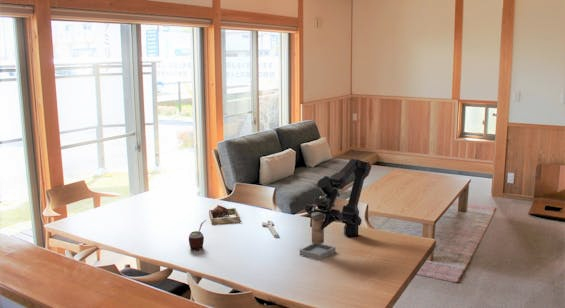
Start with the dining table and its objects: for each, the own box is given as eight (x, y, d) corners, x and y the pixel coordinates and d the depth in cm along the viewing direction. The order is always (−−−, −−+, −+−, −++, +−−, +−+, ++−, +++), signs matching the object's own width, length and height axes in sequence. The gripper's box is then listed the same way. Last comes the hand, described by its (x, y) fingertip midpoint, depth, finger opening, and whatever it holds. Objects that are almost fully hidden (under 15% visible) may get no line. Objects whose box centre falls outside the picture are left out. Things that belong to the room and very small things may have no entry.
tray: (314, 246, 255) (314, 242, 255) (335, 252, 248) (335, 247, 248) (299, 254, 245) (299, 249, 245) (320, 260, 238) (320, 255, 238)
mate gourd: (187, 247, 256) (186, 217, 253) (203, 245, 259) (202, 215, 256) (191, 252, 249) (190, 222, 247) (207, 250, 252) (206, 220, 250)
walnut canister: (317, 238, 250) (317, 211, 247) (326, 241, 246) (327, 213, 243) (308, 242, 246) (308, 214, 243) (318, 245, 242) (318, 216, 239)
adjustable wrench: (279, 238, 269) (279, 235, 268) (267, 239, 268) (267, 236, 267) (272, 223, 293) (272, 220, 293) (261, 224, 292) (261, 220, 292)
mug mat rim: (235, 212, 311) (235, 208, 311) (240, 221, 295) (239, 216, 294) (209, 214, 308) (208, 209, 307) (211, 224, 291) (211, 218, 291)
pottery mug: (209, 217, 306) (214, 203, 307) (224, 223, 307) (229, 210, 309) (211, 217, 294) (217, 204, 295) (227, 224, 296) (233, 210, 297)
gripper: (305, 187, 250) (292, 215, 243) (339, 193, 239) (326, 223, 232) (315, 199, 258) (302, 227, 251) (348, 206, 247) (336, 235, 240)
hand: (316, 228), depth 243 cm, fingers closed on walnut canister, 6 cm apart
